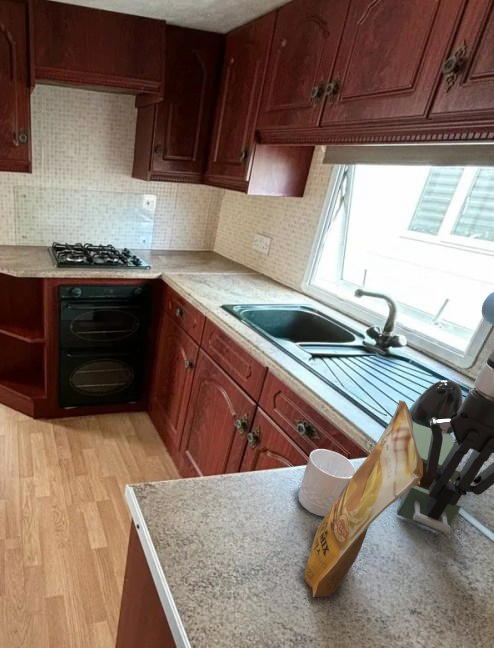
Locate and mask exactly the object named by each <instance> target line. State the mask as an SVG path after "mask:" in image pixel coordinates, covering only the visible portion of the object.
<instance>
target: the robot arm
mask: <svg viewBox="0 0 494 648" xmlns="http://www.w3.org/2000/svg"><path fill="white" fill-rule="evenodd" d="M481 315H482V318H483V319H484V320H485V322H487V323H488V324H490V325H491V326H493V327H494V290H493V291H491V292H490V293H489V294H488V295H487V296H486V297H485V299H484V301H483V303H482V305H481ZM473 386H474V387H472V388H470V389H469V391H468V393H467V394H466V396H465V398H464V399H463V403H462V405H461V407H460V409H459V410H458V411H457V412H456V413H455V414H453V415H451V416H450V419H443V420H438V419H437V418H431V419H430V427H431V431H432V435H431V441H430V447H429V452H428V458H427V464H426V469H427V475H428V476H429V477H432V478H434V481H433V483H432V484H431V486H430V488H429V497H432V498H431V500H430V501H429V503H428V505H427V506H426V507H427V516H429V517H431V518H434V519H436V520H438V519H439V518H440V516H441V514H442V513H443V511H444V510H445V508H446V506H447V505H448V504H450V505H452V506H454V505H456V504H457V502H460V500H461V498H462V496H466V495H467V494H468V493H473V494H474V495H476V496H480V495H482V494H483V493H485V492H486V491H487V490H489V489H490V488H491V487H492V486H493V485H494V461H493V462H491V463H490V464H489V465H488V466H487V467H486V468H485V469H483V470H482V471H481V469H482V468H483V466H484V464H485V462H488V461H489V459H490V457H491V456H492V454H494V348H493V349H492V351H491V353H490V355H489V356H488V358H487V360H486V361H485V363H484V365H483V366H482V368H481V370H480V371H479V373H478V375H477V376H476V379H475V380H474V382H473ZM449 427H452V430H453V433H452V434H453V436H454V438H455V439H454V441H453V442H454V445H453V447H452V448H451V450H450V452H449V453H448V455H447V457H446V458H445V460H444V462H443V464H442V465H441V467H440V469H439V470H438V469H437V468H438V463H439V457H440V452H441V447H442V441H443V436H442V434H445V433H447V431H448V428H449ZM470 450H472V451H471V453H470V455H469V456H468V458H467V460H466V462H465V463H464V465H463V466H462V468H461V469H460V473H459V475H458V476H457V478H456V480H455V482H452V481H449V480H450V478H451V477H452V475H453V473H454V472H455V470H456V468H457V467H458V465H459V466H460V464H461V462H462V460H463V459H464V458H465V455H468V453H469V452H470ZM480 471H481V472H480ZM479 472H480V473H479Z"/></svg>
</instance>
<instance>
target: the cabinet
mask: <svg viewBox="0 0 494 648" xmlns="http://www.w3.org/2000/svg"><path fill="white" fill-rule="evenodd" d="M413 434H414V438H415V442H416V446H417V450H418V452H419V455H420V457H421V459H422V462H424V463H426V464H427V458H428V452H429V447H430V441H431V435H432V431H431V428H428V427H425V426H422V425H419V424H416V423H413ZM442 436H443V441H442V447H441V452H440V457H439V463H438V468H440V467H441V465H442V464H443V462H444V460H445V458H446V457H447V455H448V453H449V452H450V450H451V448H452V447H453V445H454V442H455V441H454V438H453V435H452V434H450V435H449V434H446V433H445V434H442ZM460 471H461V468H460V464H459V465H458V467H457V468H456V470H455V472H454V473H453V475H452V477H451V481H452V482H454V483H455V480H456V478H457V476H458V475H459V473H460Z"/></svg>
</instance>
